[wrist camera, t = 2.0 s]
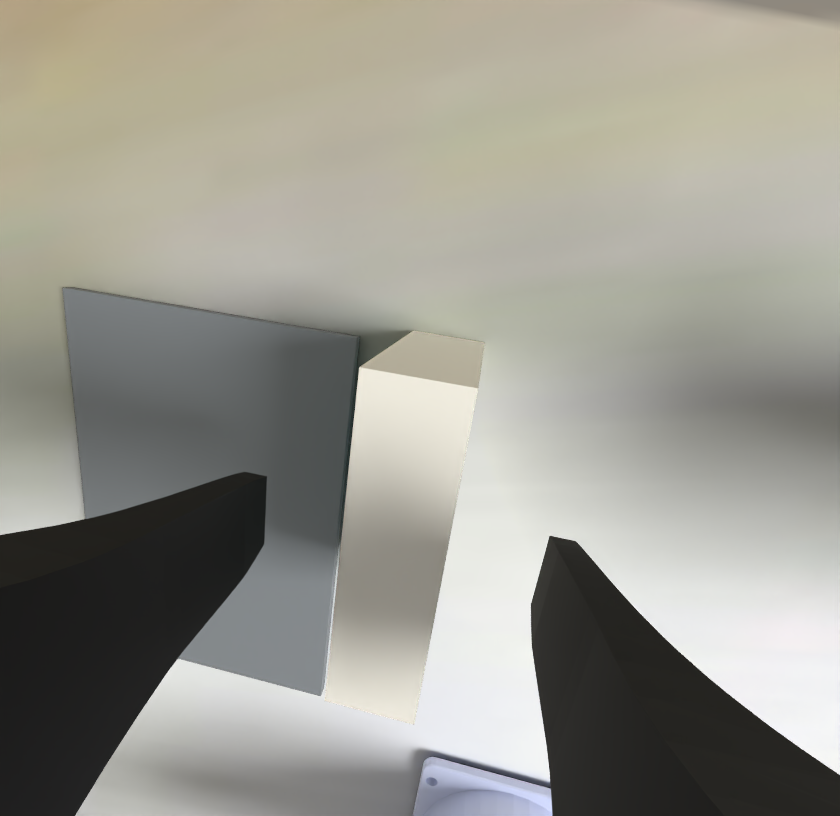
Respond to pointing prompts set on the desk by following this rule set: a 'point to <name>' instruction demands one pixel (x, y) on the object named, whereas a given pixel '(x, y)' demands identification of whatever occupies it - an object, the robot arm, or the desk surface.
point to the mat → (224, 454)
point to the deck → (399, 518)
